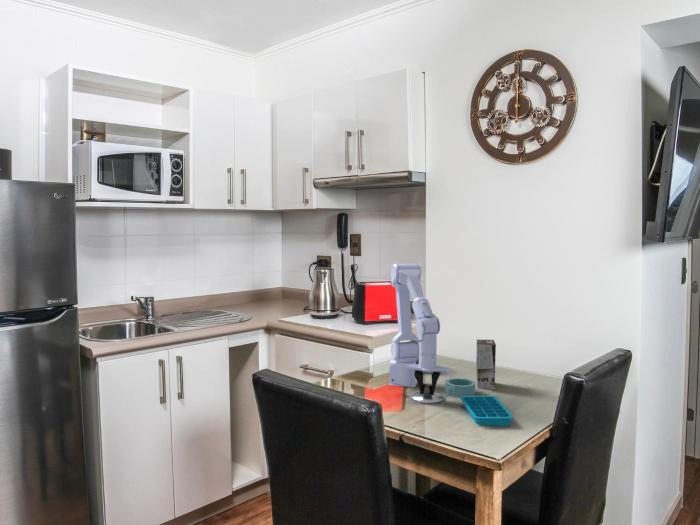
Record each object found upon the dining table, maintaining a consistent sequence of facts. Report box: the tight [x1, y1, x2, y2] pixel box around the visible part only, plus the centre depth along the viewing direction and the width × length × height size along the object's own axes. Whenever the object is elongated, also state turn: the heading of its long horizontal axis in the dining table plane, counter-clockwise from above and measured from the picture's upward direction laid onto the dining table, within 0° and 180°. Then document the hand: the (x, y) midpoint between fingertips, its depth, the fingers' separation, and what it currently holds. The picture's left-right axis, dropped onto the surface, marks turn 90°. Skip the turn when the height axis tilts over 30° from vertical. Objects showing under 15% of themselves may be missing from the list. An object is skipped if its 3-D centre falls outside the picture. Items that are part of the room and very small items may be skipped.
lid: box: [411, 383, 443, 404], centre depth 179 cm, size 10×10×5 cm
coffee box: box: [475, 339, 497, 390], centre depth 195 cm, size 9×6×16 cm
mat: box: [405, 391, 448, 407], centre depth 179 cm, size 12×12×1 cm
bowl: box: [444, 377, 476, 398], centre depth 186 cm, size 10×10×4 cm
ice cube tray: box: [459, 395, 515, 427], centre depth 165 cm, size 12×20×3 cm, turn 1°
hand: (427, 393), depth 179 cm, fingers closed on lid, 3 cm apart
